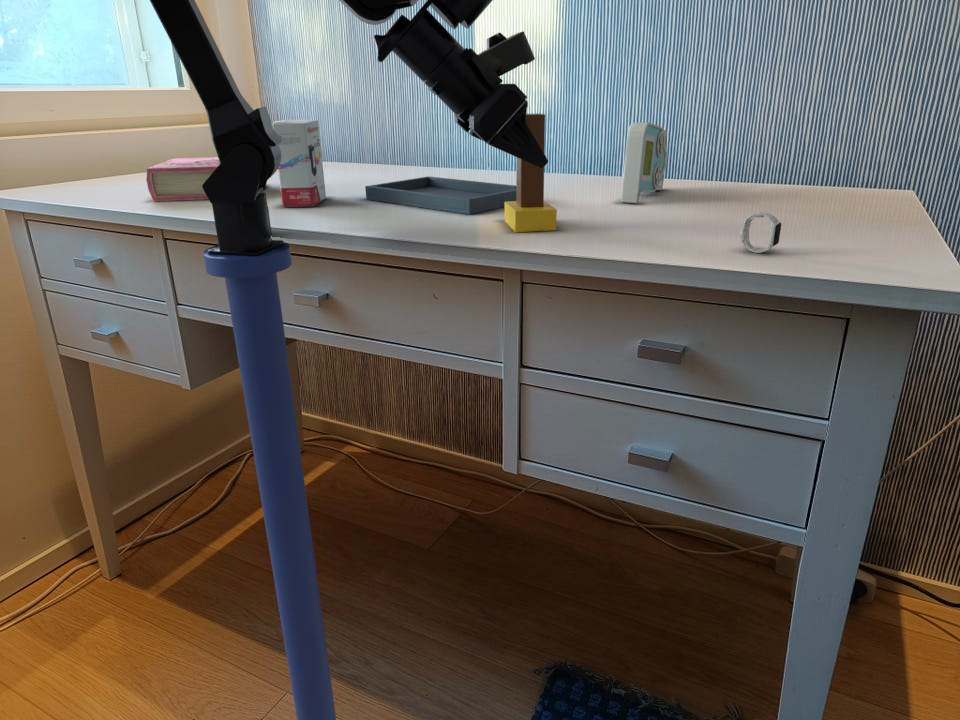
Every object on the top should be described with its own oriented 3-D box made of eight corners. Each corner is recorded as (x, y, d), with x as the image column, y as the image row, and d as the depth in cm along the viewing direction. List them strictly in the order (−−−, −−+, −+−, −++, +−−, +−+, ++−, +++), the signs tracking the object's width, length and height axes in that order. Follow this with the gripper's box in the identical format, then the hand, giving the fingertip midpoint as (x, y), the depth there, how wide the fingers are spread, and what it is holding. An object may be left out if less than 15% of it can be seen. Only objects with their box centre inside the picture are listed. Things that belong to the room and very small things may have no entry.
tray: (531, 200, 102) (531, 187, 101) (469, 214, 92) (469, 199, 92) (428, 188, 115) (428, 176, 114) (366, 199, 106) (365, 186, 105)
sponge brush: (515, 232, 81) (515, 116, 76) (504, 221, 88) (504, 113, 83) (556, 230, 82) (559, 115, 77) (542, 219, 88) (544, 112, 83)
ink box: (314, 207, 100) (305, 121, 95) (280, 207, 100) (270, 122, 95) (327, 197, 108) (319, 118, 103) (296, 198, 108) (287, 118, 103)
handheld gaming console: (664, 202, 110) (638, 204, 97) (646, 201, 111) (619, 202, 99) (672, 129, 107) (647, 121, 94) (654, 129, 108) (627, 120, 96)
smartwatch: (735, 251, 71) (741, 212, 69) (742, 247, 72) (748, 209, 71) (771, 256, 69) (778, 216, 67) (778, 252, 70) (784, 212, 69)
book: (175, 188, 121) (169, 158, 119) (263, 185, 122) (259, 155, 120) (147, 201, 107) (141, 168, 106) (247, 198, 109) (242, 165, 107)
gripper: (505, -6, 66) (609, 112, 72) (477, 12, 83) (563, 106, 89) (428, 84, 68) (535, 191, 74) (416, 83, 85) (504, 170, 91)
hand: (536, 160), depth 82 cm, fingers open, 9 cm apart
